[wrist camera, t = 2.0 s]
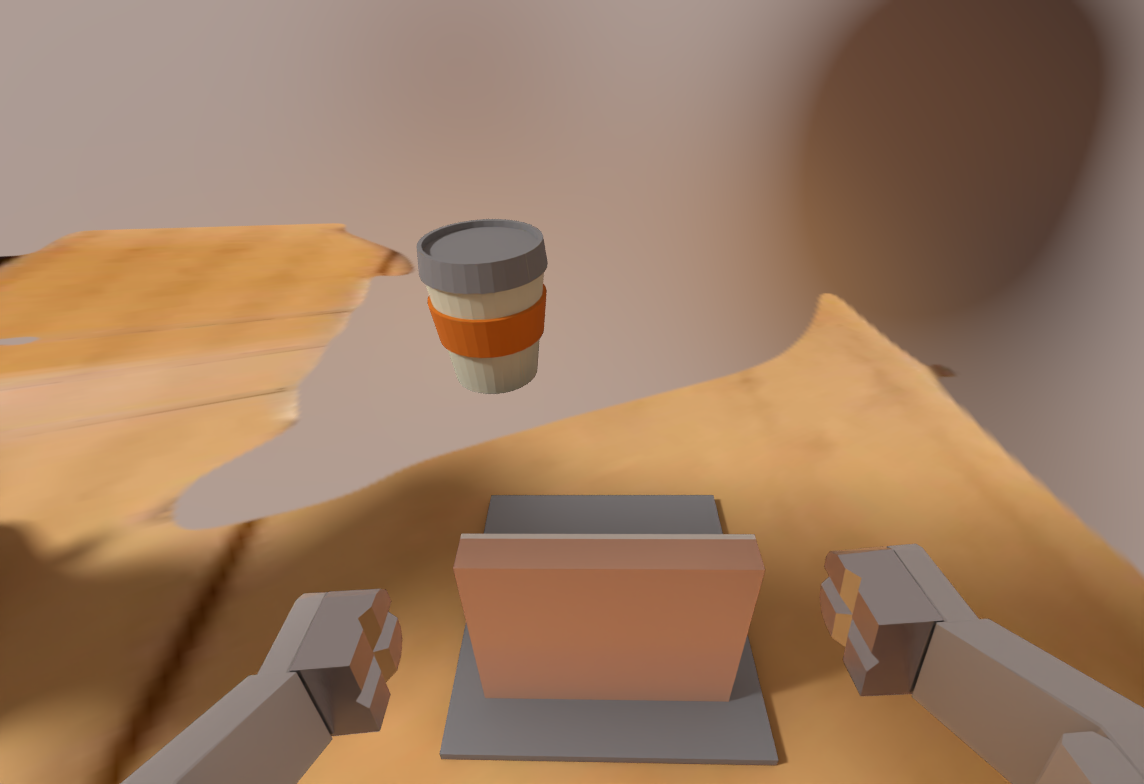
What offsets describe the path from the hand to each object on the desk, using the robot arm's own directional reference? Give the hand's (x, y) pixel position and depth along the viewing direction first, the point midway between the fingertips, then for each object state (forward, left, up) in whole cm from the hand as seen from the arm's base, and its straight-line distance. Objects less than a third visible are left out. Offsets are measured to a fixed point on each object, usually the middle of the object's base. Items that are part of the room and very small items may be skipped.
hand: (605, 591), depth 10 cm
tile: (-8, +6, -24) cm, 26 cm away
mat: (-13, +9, -24) cm, 29 cm away
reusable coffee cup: (-43, +16, -25) cm, 52 cm away
